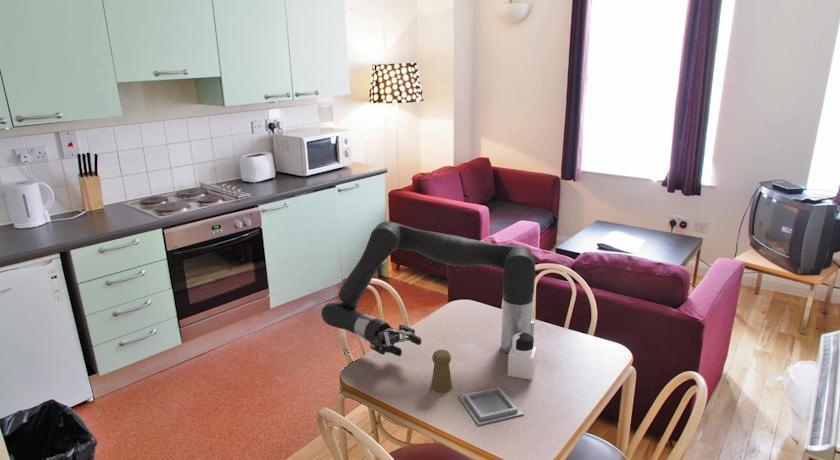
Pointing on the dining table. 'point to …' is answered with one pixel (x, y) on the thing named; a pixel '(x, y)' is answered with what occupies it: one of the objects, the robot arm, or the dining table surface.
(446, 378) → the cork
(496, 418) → the grey flat square tray
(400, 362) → the dining table surface
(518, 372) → the medicine bottle
